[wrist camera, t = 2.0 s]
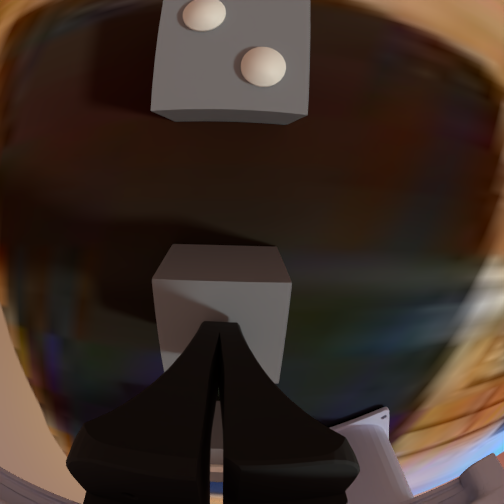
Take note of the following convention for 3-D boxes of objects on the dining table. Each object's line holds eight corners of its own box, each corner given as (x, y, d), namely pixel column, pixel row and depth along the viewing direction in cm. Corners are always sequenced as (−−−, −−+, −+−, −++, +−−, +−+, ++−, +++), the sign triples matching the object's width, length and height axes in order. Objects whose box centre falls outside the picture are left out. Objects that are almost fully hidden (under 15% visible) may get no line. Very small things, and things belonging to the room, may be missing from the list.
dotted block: (286, 124, 12) (309, 114, 8) (174, 121, 12) (149, 110, 8) (290, 28, 11) (311, -12, 7) (183, 25, 10) (165, -16, 6)
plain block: (269, 333, 16) (278, 383, 12) (178, 330, 15) (165, 380, 12) (276, 246, 14) (292, 282, 10) (172, 243, 14) (151, 278, 10)
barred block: (255, 440, 19) (259, 484, 15) (191, 438, 19) (187, 481, 15) (261, 401, 18) (267, 451, 14) (186, 398, 17) (179, 448, 13)
